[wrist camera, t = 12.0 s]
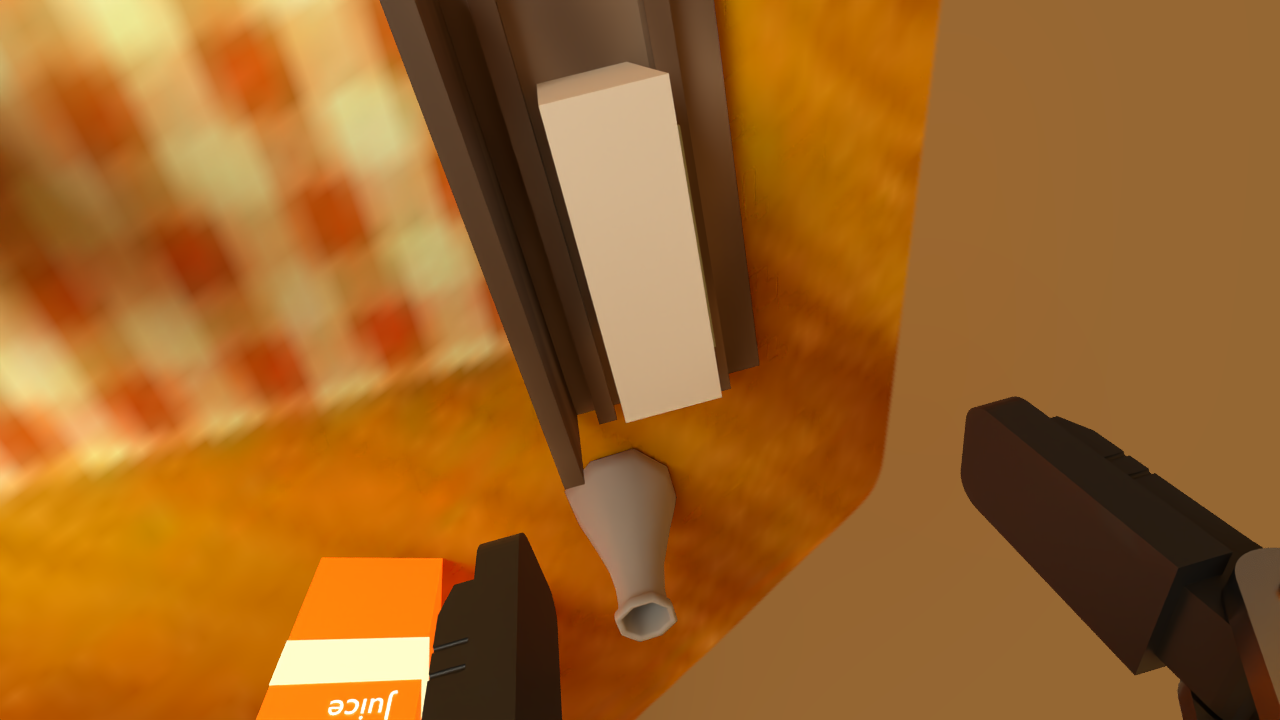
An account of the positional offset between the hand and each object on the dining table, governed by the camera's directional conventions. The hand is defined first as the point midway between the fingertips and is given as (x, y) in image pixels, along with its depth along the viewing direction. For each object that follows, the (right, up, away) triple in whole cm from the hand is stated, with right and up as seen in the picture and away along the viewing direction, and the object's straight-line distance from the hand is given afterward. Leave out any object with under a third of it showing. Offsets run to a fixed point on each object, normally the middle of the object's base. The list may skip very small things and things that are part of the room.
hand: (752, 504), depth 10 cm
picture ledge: (-3, +11, +19) cm, 22 cm away
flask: (-3, -6, +29) cm, 30 cm away
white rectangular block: (-3, +10, +18) cm, 21 cm away
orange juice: (-20, -14, +30) cm, 39 cm away
